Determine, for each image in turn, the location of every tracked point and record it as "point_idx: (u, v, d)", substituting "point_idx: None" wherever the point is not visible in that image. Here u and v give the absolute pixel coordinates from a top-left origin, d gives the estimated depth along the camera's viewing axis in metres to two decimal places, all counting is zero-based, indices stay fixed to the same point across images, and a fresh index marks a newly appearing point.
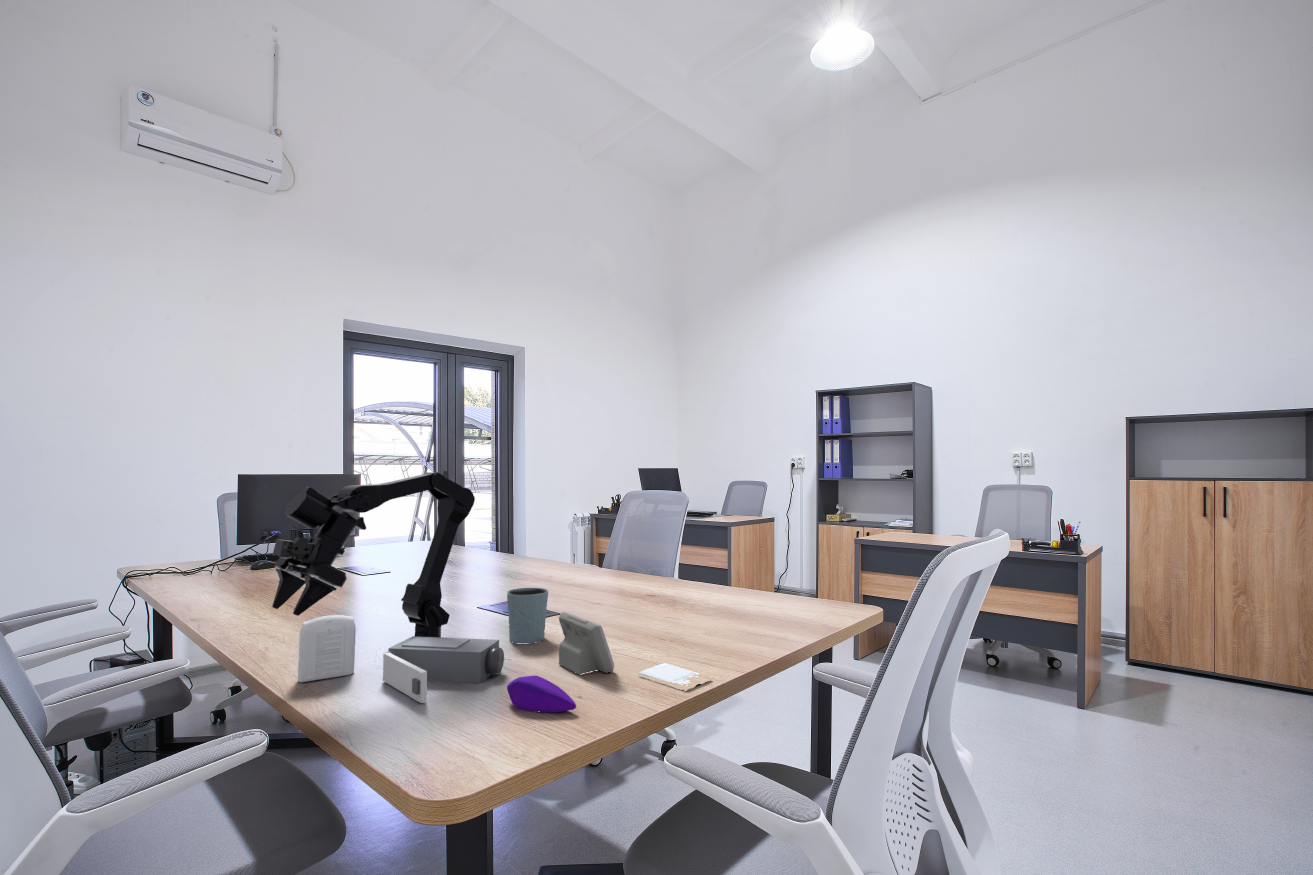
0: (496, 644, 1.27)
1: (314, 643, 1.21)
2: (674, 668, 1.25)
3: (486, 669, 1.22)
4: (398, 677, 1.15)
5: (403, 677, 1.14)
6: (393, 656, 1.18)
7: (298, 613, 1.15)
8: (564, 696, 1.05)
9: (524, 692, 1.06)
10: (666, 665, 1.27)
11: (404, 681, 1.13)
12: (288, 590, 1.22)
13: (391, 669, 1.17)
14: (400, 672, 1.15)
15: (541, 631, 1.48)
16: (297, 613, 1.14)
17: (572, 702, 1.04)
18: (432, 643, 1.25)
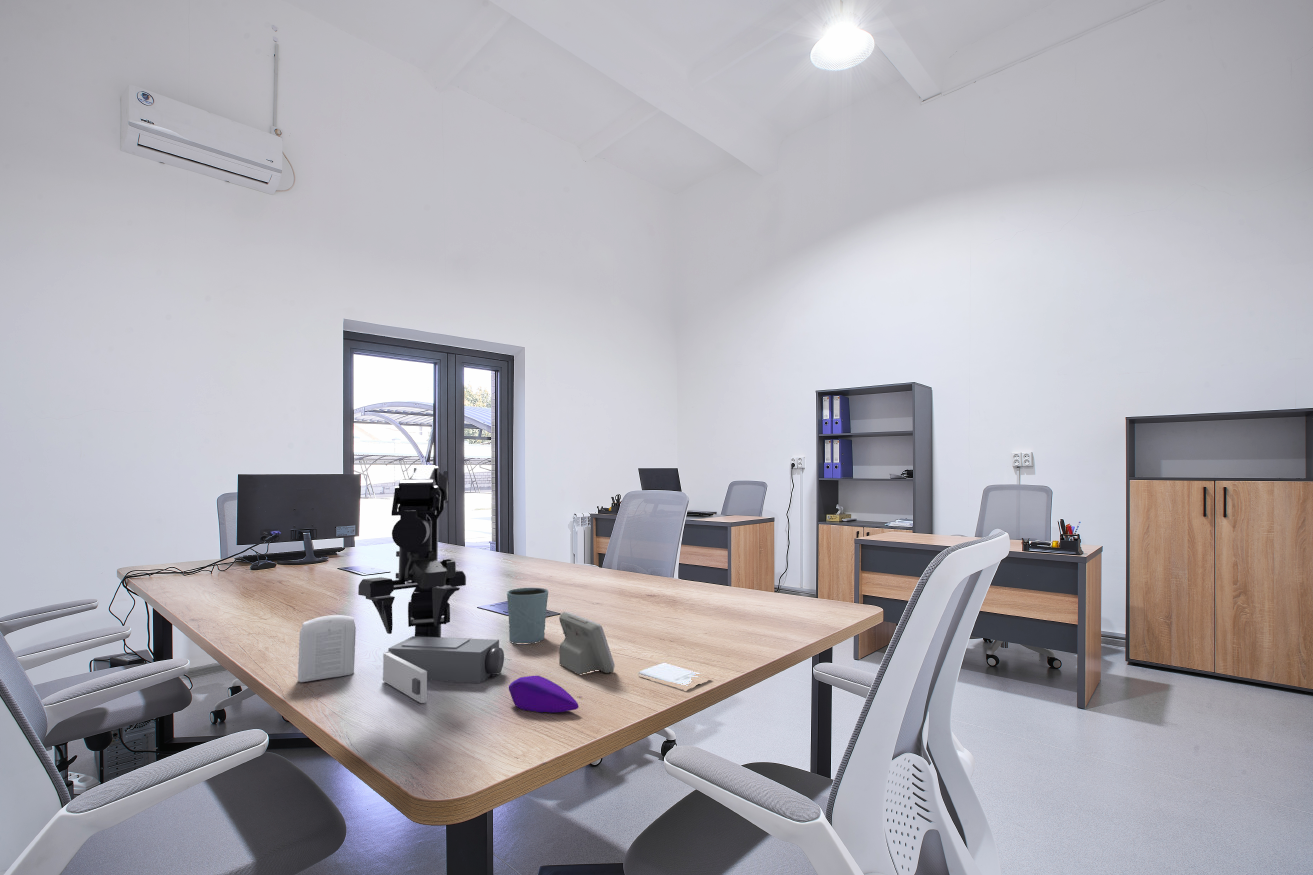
0: (496, 644, 1.27)
1: (314, 643, 1.21)
2: (674, 668, 1.25)
3: (486, 669, 1.22)
4: (398, 677, 1.15)
5: (403, 677, 1.14)
6: (393, 656, 1.18)
7: None
8: (566, 696, 1.04)
9: (526, 692, 1.05)
10: (666, 665, 1.27)
11: (404, 681, 1.13)
12: None
13: (391, 669, 1.17)
14: (400, 672, 1.15)
15: (541, 631, 1.48)
16: None
17: (574, 702, 1.04)
18: (432, 643, 1.25)
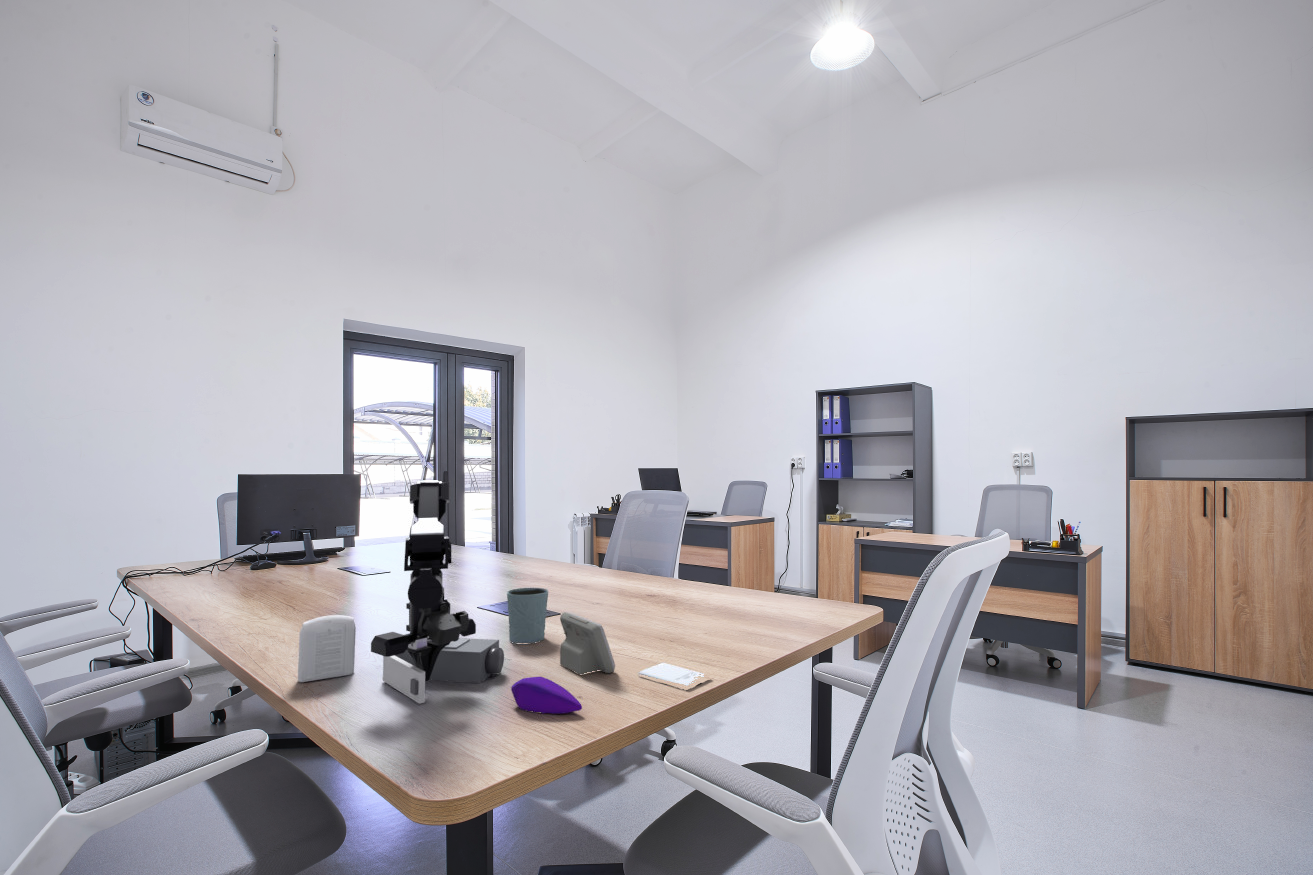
0: (496, 644, 1.27)
1: (314, 643, 1.21)
2: (673, 667, 1.25)
3: (486, 669, 1.22)
4: (397, 677, 1.15)
5: (402, 677, 1.13)
6: (393, 656, 1.18)
7: None
8: (569, 697, 1.04)
9: (529, 693, 1.05)
10: (665, 665, 1.27)
11: (403, 681, 1.13)
12: None
13: (391, 669, 1.17)
14: (399, 672, 1.14)
15: (541, 631, 1.48)
16: None
17: (578, 703, 1.04)
18: None
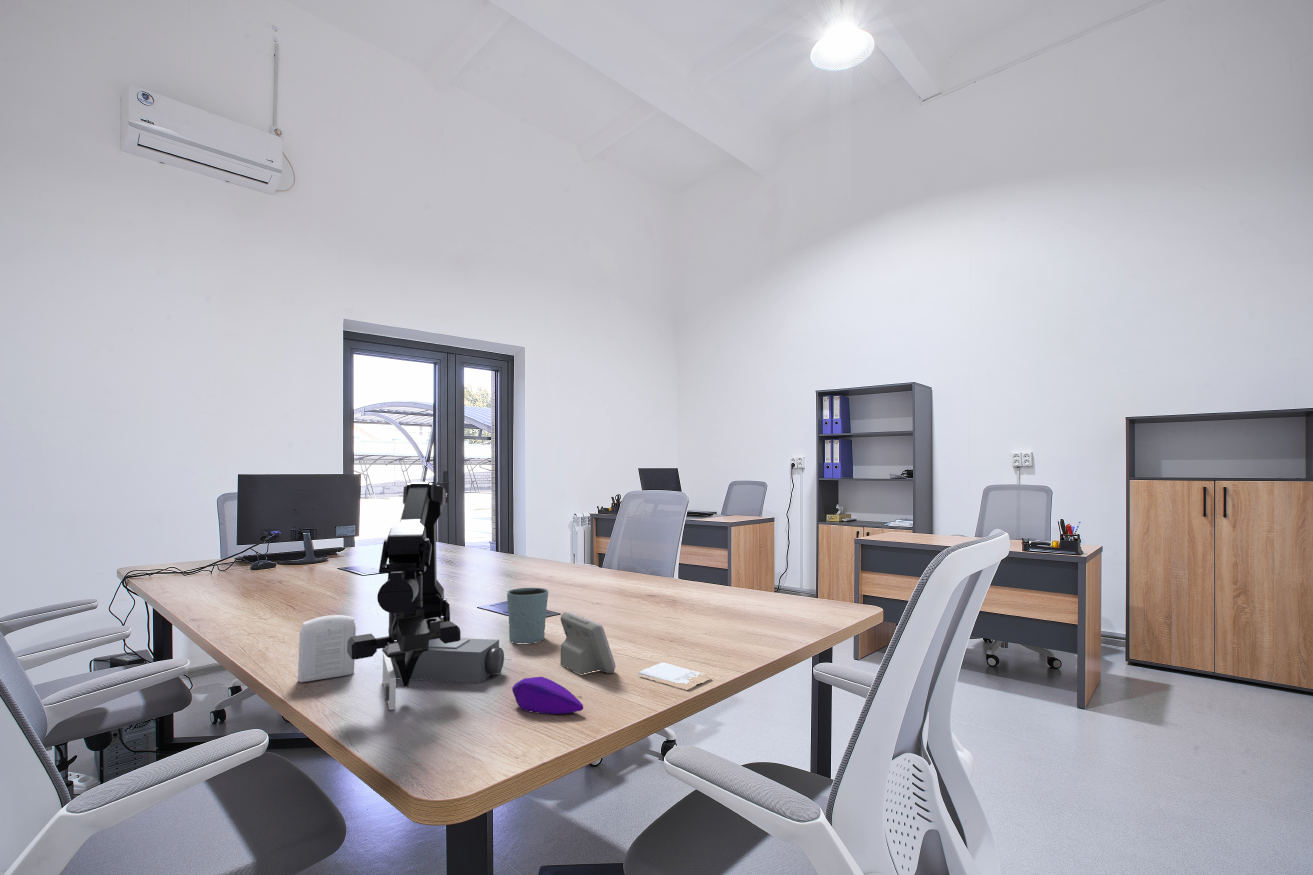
0: (496, 644, 1.27)
1: (314, 643, 1.21)
2: (673, 667, 1.25)
3: (486, 669, 1.22)
4: (385, 679, 1.14)
5: (386, 680, 1.12)
6: (387, 657, 1.18)
7: None
8: (571, 697, 1.04)
9: (530, 693, 1.05)
10: (665, 664, 1.27)
11: None
12: None
13: (384, 670, 1.17)
14: (385, 674, 1.13)
15: (541, 631, 1.48)
16: None
17: (579, 703, 1.03)
18: (432, 643, 1.25)
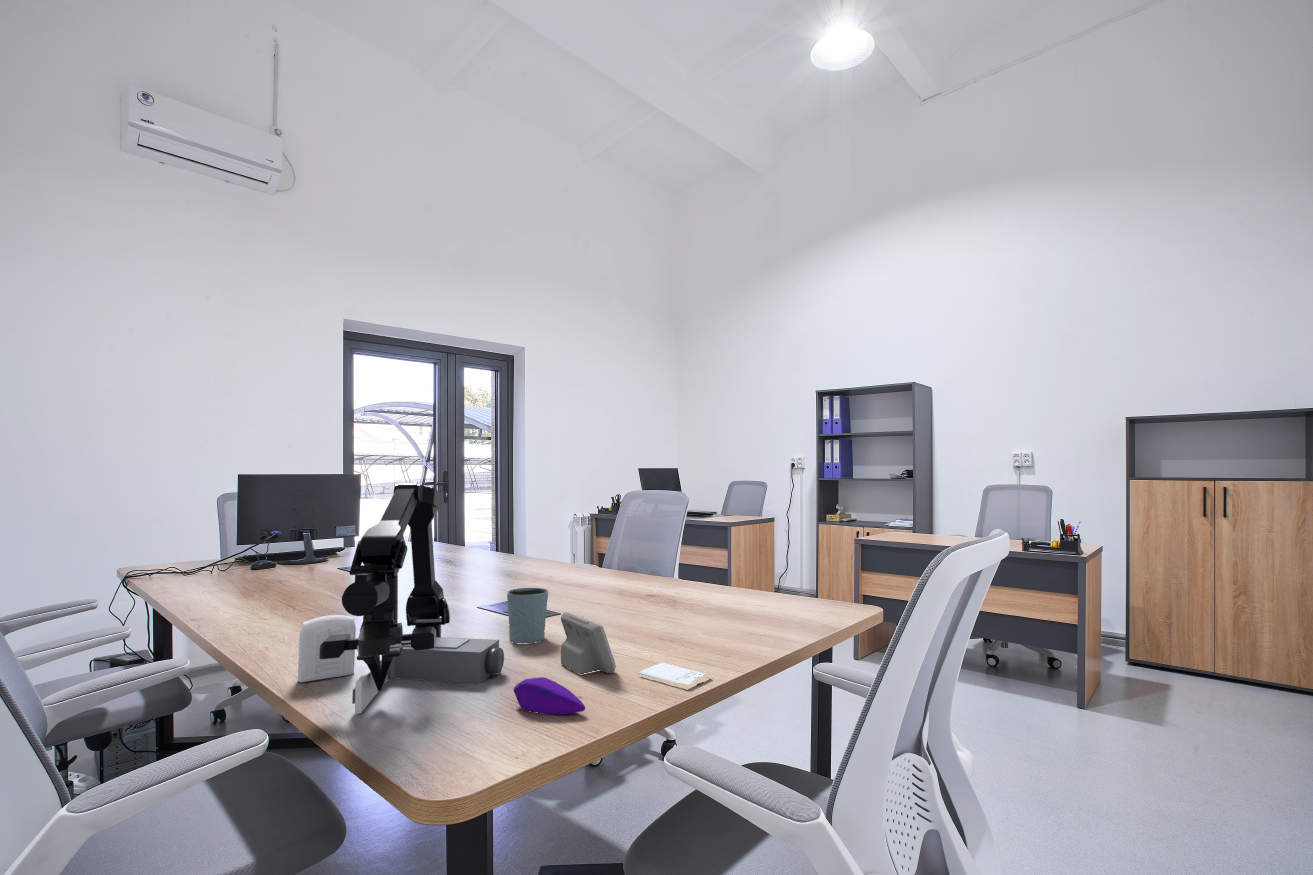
0: (496, 644, 1.27)
1: (314, 643, 1.21)
2: (673, 667, 1.25)
3: (486, 669, 1.22)
4: None
5: None
6: (380, 657, 1.17)
7: (382, 687, 1.09)
8: (573, 698, 1.04)
9: (532, 694, 1.05)
10: (665, 664, 1.27)
11: None
12: (379, 667, 1.09)
13: None
14: None
15: (541, 631, 1.48)
16: (382, 687, 1.09)
17: (581, 704, 1.03)
18: None
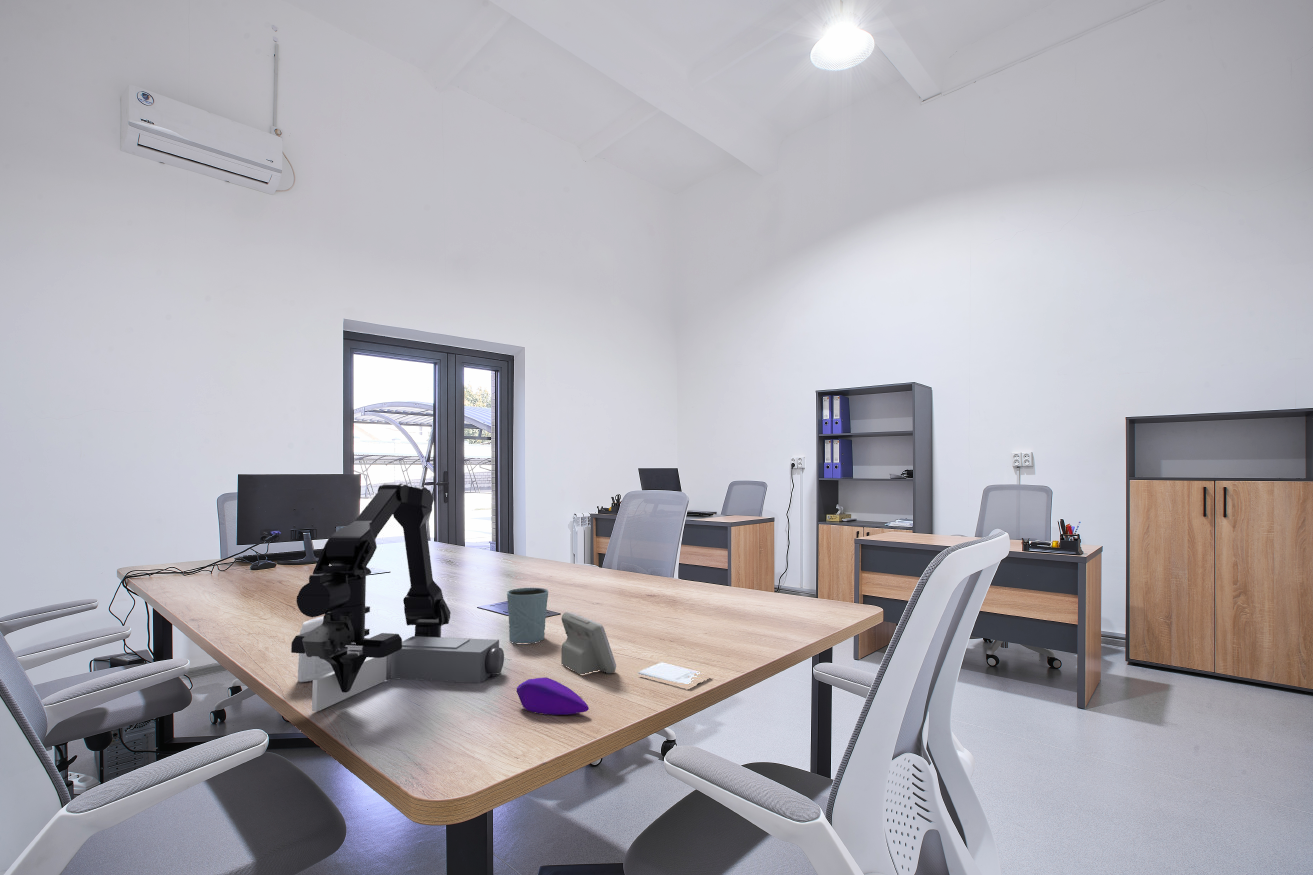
0: (496, 644, 1.27)
1: None
2: (673, 667, 1.25)
3: (486, 669, 1.22)
4: None
5: None
6: None
7: (349, 689, 1.08)
8: (576, 698, 1.04)
9: (535, 694, 1.04)
10: (664, 664, 1.27)
11: None
12: None
13: None
14: None
15: (541, 631, 1.48)
16: (348, 689, 1.08)
17: (584, 704, 1.03)
18: (432, 643, 1.25)
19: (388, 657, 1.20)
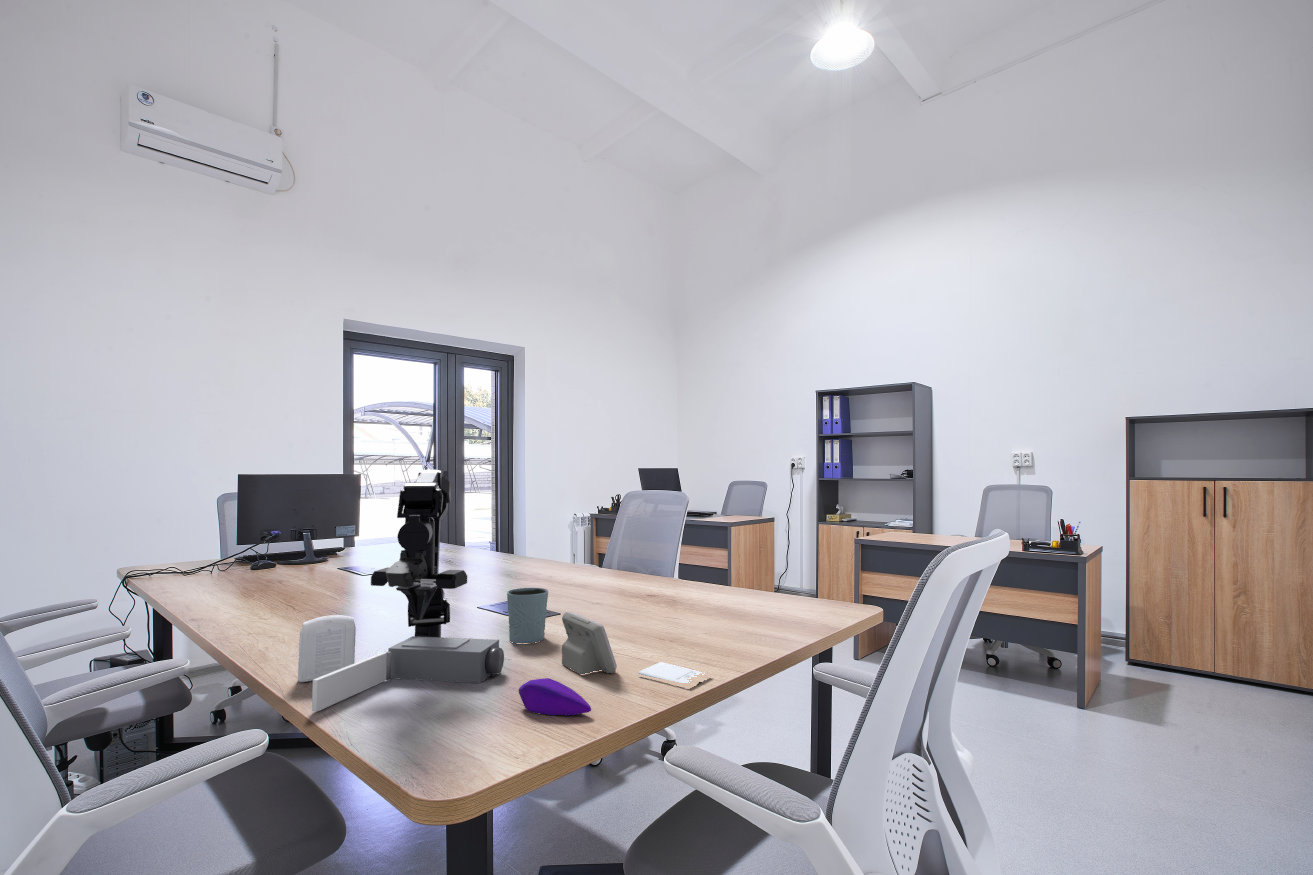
0: (496, 644, 1.27)
1: (314, 643, 1.21)
2: (672, 667, 1.25)
3: (486, 669, 1.22)
4: None
5: None
6: (373, 657, 1.18)
7: (421, 617, 1.24)
8: (578, 699, 1.03)
9: (537, 695, 1.04)
10: (664, 664, 1.27)
11: None
12: None
13: None
14: None
15: (541, 631, 1.48)
16: (421, 618, 1.24)
17: (587, 705, 1.03)
18: (432, 643, 1.25)
19: (388, 657, 1.20)
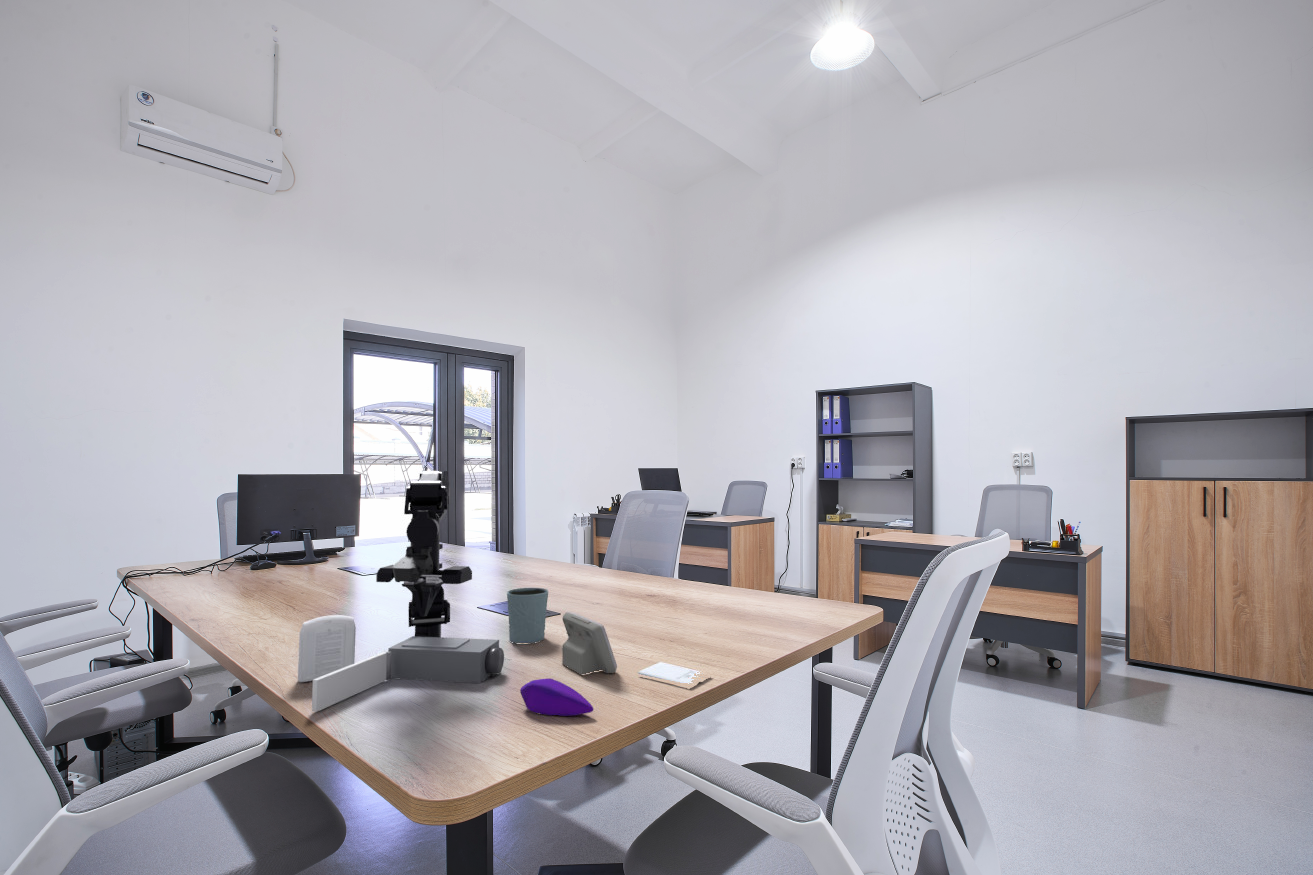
0: (496, 644, 1.27)
1: (314, 643, 1.21)
2: (672, 667, 1.26)
3: (486, 669, 1.22)
4: None
5: None
6: (373, 657, 1.18)
7: (426, 613, 1.25)
8: (581, 699, 1.03)
9: (539, 695, 1.04)
10: (663, 664, 1.27)
11: None
12: None
13: None
14: None
15: (541, 631, 1.48)
16: (426, 614, 1.25)
17: (589, 705, 1.03)
18: (432, 643, 1.25)
19: (388, 657, 1.20)
